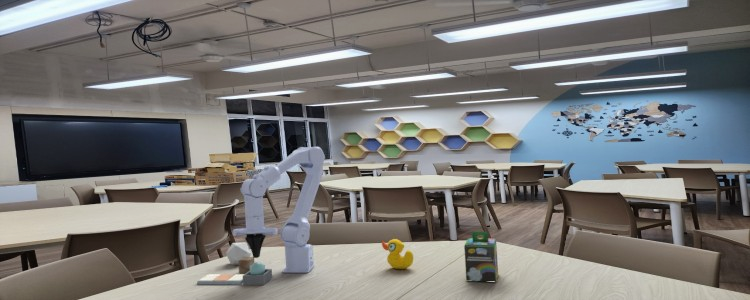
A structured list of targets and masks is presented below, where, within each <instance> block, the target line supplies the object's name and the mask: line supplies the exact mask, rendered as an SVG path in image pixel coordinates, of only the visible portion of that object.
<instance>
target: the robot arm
mask: <svg viewBox="0 0 750 300" xmlns="http://www.w3.org/2000/svg"><path fill="white" fill-rule="evenodd" d="M325 160H326V156H325V154H324V151H323V148H321V147H320V146H307V147H304V146H301V147H300V146H299V147H298V148H297V149H295V150H293V151H292V153H290V154H289V155H287V156H286V157H285V158H284V159H283V160H281V161H280V162H279V163H277V164H276V165H275V166H274V165H266V166H264V167H263V170H262V171H260V172H259V173H257V174H255V173H254V174H253V175H252V178H247V179H245V180H244V181H243V183H242V184H241V187H239V188H240V193H241V194H242V195H243V198H244V199H243V200H244V212H245V215H244V217H245V227H244V228H242V227H241V228H235V229H232V236H233V237H235V236H246V237H245V242H246V243H247V245H248V247H249V250H250V252H251V255H252V257H253V258H254V259H258V258H260V256H261V250H262V246H263V244H264V240H265V239H266V237H267V236H277V235H278V234H279V236H280V239H281V240H282V241H283V244H284V252H285V253H284V254H285V255H284V256H285V258H284V259H285V268H284V269H283V270H281V272H282V273H286V274H287V273H296V274H297V273H302V274H303V273H309V272H310V271H311V270H312V269H313V268H314V267H315V263H314V249H313V247H314V246H313V245H312V244H310V243H309V244H308V243H307V242H308V241H309V239H310V230H311V224H310V223H309V221H308V219H309V216H310V213H311V210H312V208H313V205H314V203H315V202H314V201H315V199H316V196H317V193H318V189H319V186H320V183H321V180H322V178H323V174H324V173H323V172H324V163H325ZM297 165H299V166H300V167H301V169H303V171H304V172H305V174H306V176H305V178H304V182H303V184H302V187H301V190H300V193H299V195H298V199H297V202H296V205H295V208H294V210H293V213H292V215H291V216H290V217H289V218H287V219H286V221H285V224H284V225H283V226H282V227H281V229H280V230H279V231H280V232H279V231H278V228H277V227H265V216H264V196H265V194H266V191H267V190H268V189H269V188H270V187H271V186H273V185H274V184H276V183H277V182H278V181H279V180H280V179H281V178H282V177H281V175H282V174H284V173H285V172H287V171H288V170H290V169H291V168H293V167H295V166H297ZM278 232H279V233H278Z"/></svg>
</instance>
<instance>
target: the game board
mask: <svg viewBox="0 0 750 300" xmlns="http://www.w3.org/2000/svg"><path fill="white" fill-rule="evenodd" d="M243 275H244V274H239V273H238V274H237V273H236V274H234V273H228V274H227V273H224V274H223V273H222V274H220V273H217V274H215V273H214V274H213V273H209V274H206V275H205V276H203V277H201V278H200V279H198V280H197V281H196V283H197V285H242V284H243Z"/></svg>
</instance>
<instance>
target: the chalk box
mask: <svg viewBox="0 0 750 300" xmlns="http://www.w3.org/2000/svg"><path fill="white" fill-rule="evenodd" d="M471 233H472V234H471V235H472V237H470V238H468V239H466V241H465V243H464V246H463V247H464V263H465V279H466V280H472V281H471V282H477V281H496V280H498V277H497V276H499V267H498V266H499V265H498V249H497V239H496V238H494V237H493V238H492V237H489V233H488V231H478V230H477V231H474V230H473V231H472V232H471ZM478 236H483V237H481V238H480V237H478ZM496 282H497V281H496Z"/></svg>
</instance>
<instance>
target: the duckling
mask: <svg viewBox="0 0 750 300" xmlns="http://www.w3.org/2000/svg"><path fill="white" fill-rule="evenodd" d="M381 246H382V248H383V249H384V250H385V251H388V252H389V254H388V255H387V259H386V260H387V263H388V264H389V266H390V267H392V268H394V270H395V269H396V270H406V269H408V268H410V267H411V266H412V265H413V262H414V254H413V252H412V251H411V250H406V251H405V252H404V256H402V255H401V253H402V252H403V250H404V248H405V244H404V243H403V242H402V241H401V240H399V239H397V238H393V239H391V240H389V241H388V242H387V243H386V242H385V241H382V242H381Z"/></svg>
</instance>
